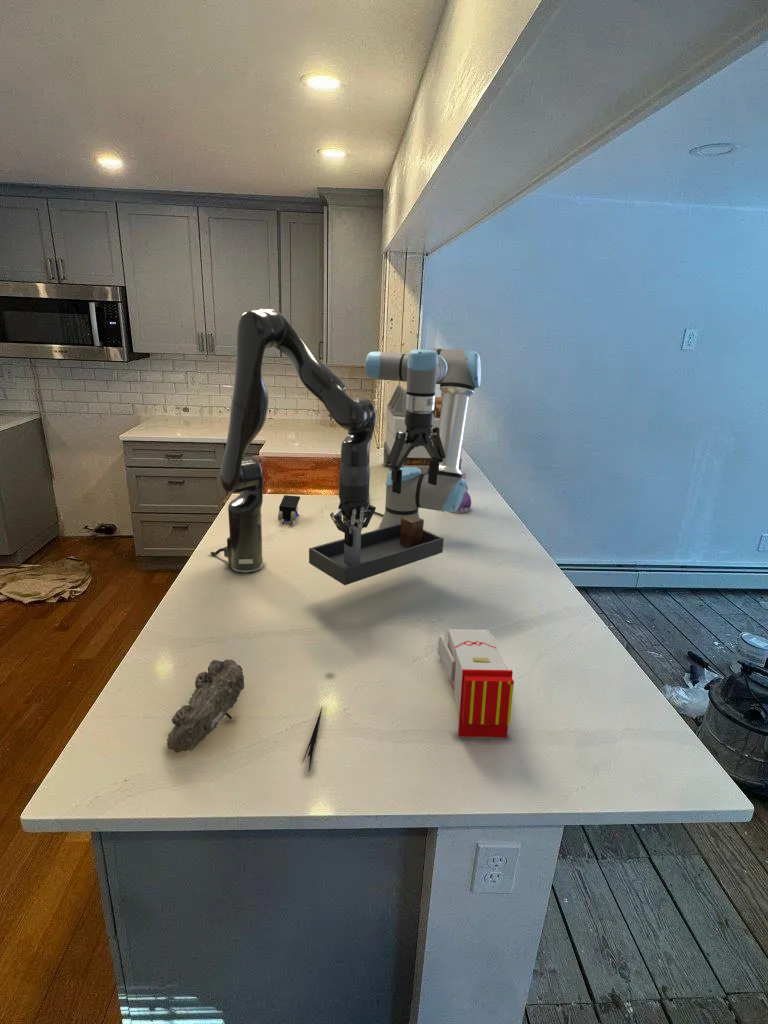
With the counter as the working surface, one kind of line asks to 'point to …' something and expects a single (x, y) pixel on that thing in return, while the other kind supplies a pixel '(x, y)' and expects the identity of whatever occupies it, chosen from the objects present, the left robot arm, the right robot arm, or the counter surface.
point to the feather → (313, 740)
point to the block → (411, 531)
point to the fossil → (206, 705)
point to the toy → (478, 682)
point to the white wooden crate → (397, 423)
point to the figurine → (464, 499)
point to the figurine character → (288, 509)
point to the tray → (371, 554)
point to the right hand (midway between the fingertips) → (414, 488)
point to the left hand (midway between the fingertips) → (352, 544)
